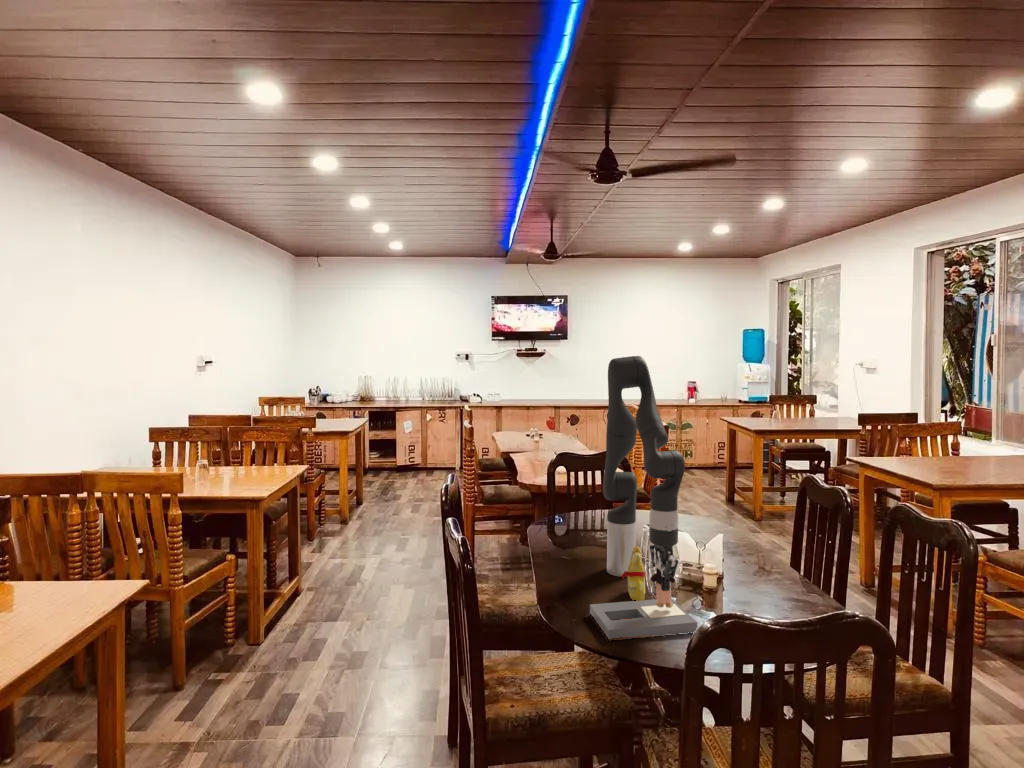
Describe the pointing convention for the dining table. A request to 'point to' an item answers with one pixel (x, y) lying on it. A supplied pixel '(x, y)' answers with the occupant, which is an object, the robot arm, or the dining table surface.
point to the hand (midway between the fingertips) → (662, 587)
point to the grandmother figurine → (661, 595)
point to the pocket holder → (641, 619)
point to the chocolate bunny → (636, 576)
